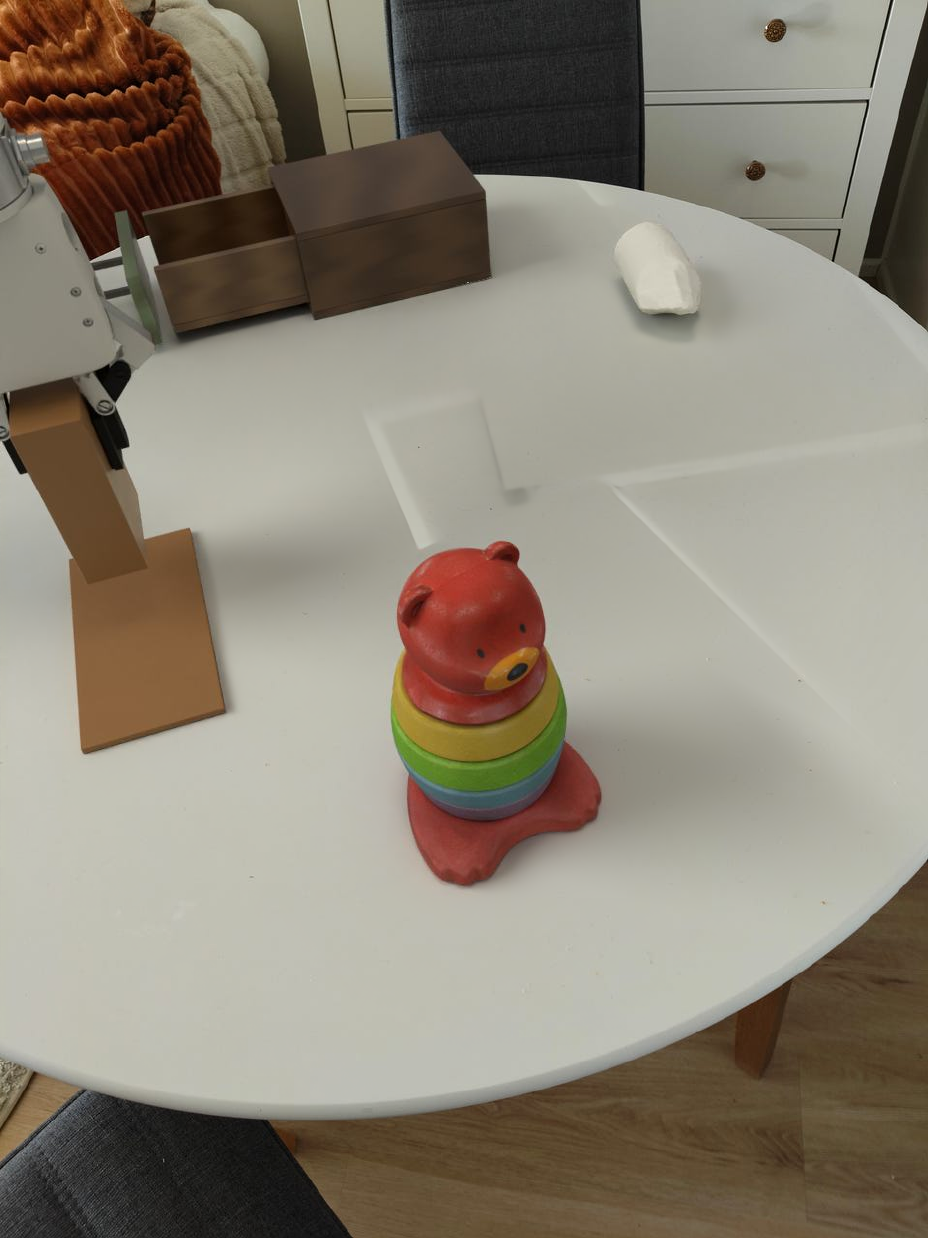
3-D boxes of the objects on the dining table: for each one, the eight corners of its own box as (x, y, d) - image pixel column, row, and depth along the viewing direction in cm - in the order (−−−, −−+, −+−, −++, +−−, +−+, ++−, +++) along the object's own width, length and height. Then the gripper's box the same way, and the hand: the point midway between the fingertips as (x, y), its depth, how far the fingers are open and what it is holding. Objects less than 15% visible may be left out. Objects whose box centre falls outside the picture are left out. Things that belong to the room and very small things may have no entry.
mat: (71, 563, 73) (68, 559, 73) (191, 531, 75) (189, 527, 74) (83, 754, 62) (80, 749, 61) (226, 712, 63) (224, 707, 63)
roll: (645, 350, 86) (650, 291, 82) (611, 280, 94) (613, 223, 90) (713, 340, 86) (721, 280, 82) (673, 271, 94) (678, 214, 90)
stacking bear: (447, 901, 53) (406, 700, 40) (369, 765, 59) (312, 552, 46) (616, 811, 56) (630, 595, 43) (525, 690, 62) (513, 469, 49)
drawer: (86, 361, 90) (57, 293, 85) (79, 291, 99) (52, 225, 94) (324, 305, 93) (310, 236, 88) (297, 241, 102) (283, 175, 97)
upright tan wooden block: (81, 508, 70) (8, 361, 61) (138, 494, 70) (74, 346, 61) (87, 585, 64) (8, 436, 55) (148, 568, 65) (80, 418, 56)
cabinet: (314, 320, 93) (295, 232, 87) (285, 250, 103) (267, 166, 96) (491, 277, 96) (486, 190, 90) (447, 213, 105) (439, 130, 99)
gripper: (108, 117, 53) (203, 401, 66) (-222, 184, 50) (-53, 465, 64) (118, 172, 48) (219, 468, 62) (-246, 250, 46) (-58, 540, 59)
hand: (79, 464), depth 63 cm, fingers closed on upright tan wooden block, 4 cm apart
